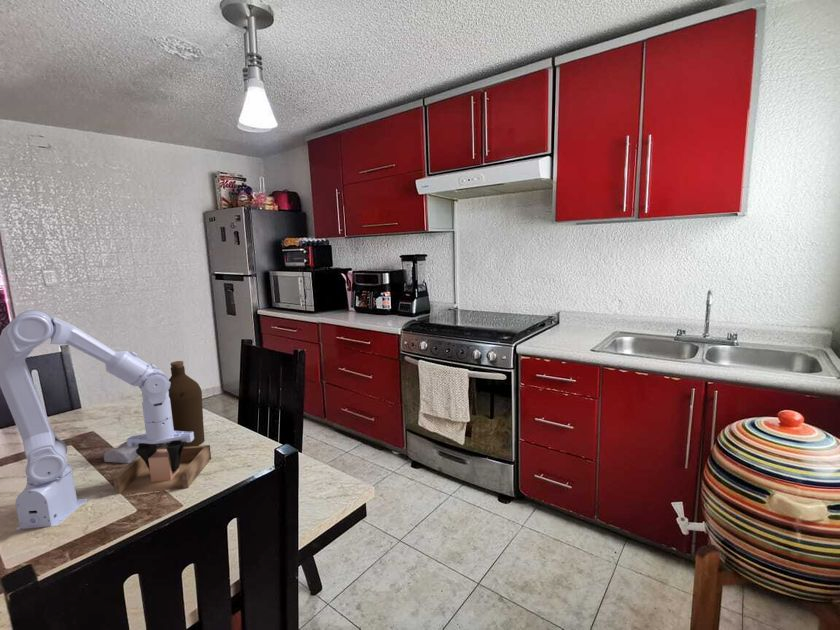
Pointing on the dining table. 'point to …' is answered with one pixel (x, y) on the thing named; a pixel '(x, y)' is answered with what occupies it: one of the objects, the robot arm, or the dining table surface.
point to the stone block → (123, 453)
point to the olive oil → (186, 404)
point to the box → (140, 480)
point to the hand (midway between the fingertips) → (165, 470)
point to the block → (161, 466)
